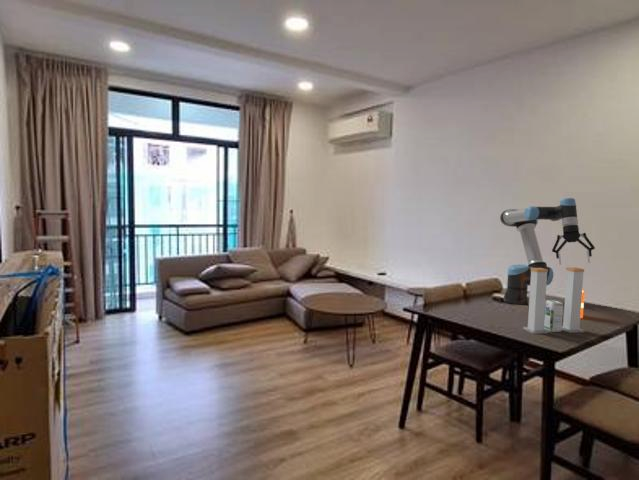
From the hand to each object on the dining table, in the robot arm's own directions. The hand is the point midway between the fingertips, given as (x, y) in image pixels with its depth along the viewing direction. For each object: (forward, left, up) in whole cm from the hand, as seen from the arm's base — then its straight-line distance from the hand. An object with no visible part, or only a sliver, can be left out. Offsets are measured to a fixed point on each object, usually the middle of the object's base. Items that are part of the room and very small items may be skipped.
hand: (574, 263), depth 231 cm
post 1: (+2, -43, -30) cm, 52 cm away
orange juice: (0, +3, -30) cm, 30 cm away
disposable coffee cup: (-14, -13, -30) cm, 35 cm away
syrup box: (+6, -34, -30) cm, 46 cm away
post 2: (+11, -26, -30) cm, 41 cm away
